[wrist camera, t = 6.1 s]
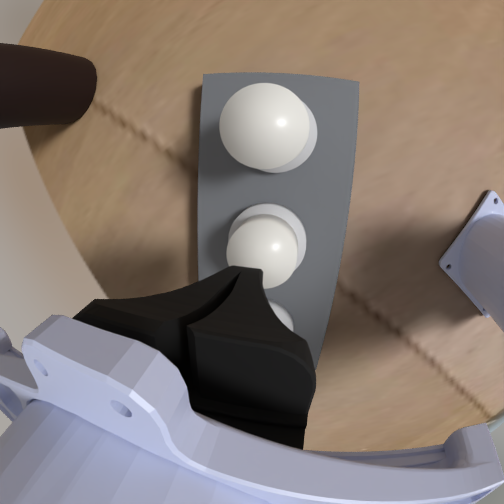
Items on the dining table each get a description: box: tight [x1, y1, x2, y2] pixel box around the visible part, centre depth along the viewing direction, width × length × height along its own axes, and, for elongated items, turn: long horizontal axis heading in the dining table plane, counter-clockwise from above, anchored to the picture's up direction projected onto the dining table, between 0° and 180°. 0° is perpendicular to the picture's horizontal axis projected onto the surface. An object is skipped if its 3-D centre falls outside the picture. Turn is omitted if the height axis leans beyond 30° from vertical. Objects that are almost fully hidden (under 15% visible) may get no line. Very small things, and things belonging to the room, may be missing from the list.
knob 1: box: [219, 83, 309, 169], centre depth 12 cm, size 4×4×2 cm
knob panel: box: [198, 73, 359, 370], centre depth 19 cm, size 22×10×3 cm, turn 177°
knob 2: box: [226, 214, 298, 289], centre depth 17 cm, size 4×4×2 cm
